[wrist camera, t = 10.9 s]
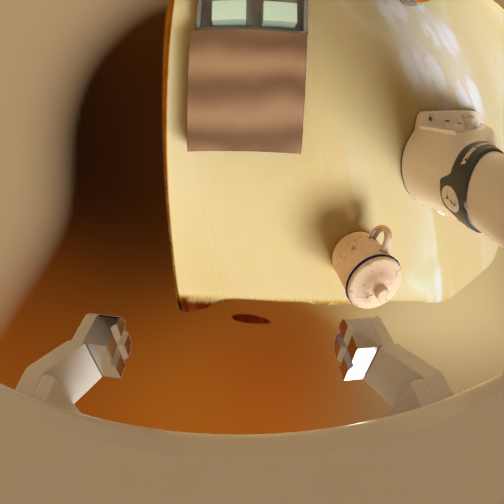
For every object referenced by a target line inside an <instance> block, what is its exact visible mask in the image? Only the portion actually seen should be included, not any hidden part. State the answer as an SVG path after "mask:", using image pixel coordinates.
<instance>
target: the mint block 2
mask: <svg viewBox="0 0 504 504" xmlns="http://www.w3.org/2000/svg"><path fill="white" fill-rule="evenodd" d="M296 24H297V3H287V2H275V1H263V6H262V10H261V27H263V28H277V29H287V30H293V28H294V27H295V25H296Z"/></svg>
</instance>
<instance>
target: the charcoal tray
mask: <svg viewBox="0 0 504 504" xmlns="http://www.w3.org/2000/svg"><path fill="white" fill-rule="evenodd" d="M212 1H222V0H198V8H197V20H196V30H212V29H252V30H270V31H282V32H291V33H300V34H307V33H308V0H246V27H214V26H213V23H212ZM263 1H275V2H287V3H297V24H296V25H295V27H294V28H293V30H287V29H277V28H263V27H261V10H262V6H263Z"/></svg>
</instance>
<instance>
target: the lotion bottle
mask: <svg viewBox="0 0 504 504" xmlns="http://www.w3.org/2000/svg"><path fill="white" fill-rule="evenodd" d="M400 1H401V2H403V3H405V4H407V5H409V6H416V5H419V4H422V3H424V2H427V1H430V0H400Z"/></svg>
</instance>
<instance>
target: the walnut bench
mask: <svg viewBox="0 0 504 504" xmlns="http://www.w3.org/2000/svg"><path fill="white" fill-rule="evenodd" d="M306 52H307V34H300V33H291V32H282V31H270V30H252V29H212V30H194V31H190V45H189V65H188V97H187V151H259V152H281V153H297V154H301V148H302V134H303V118H304V101H305V80H306Z"/></svg>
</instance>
